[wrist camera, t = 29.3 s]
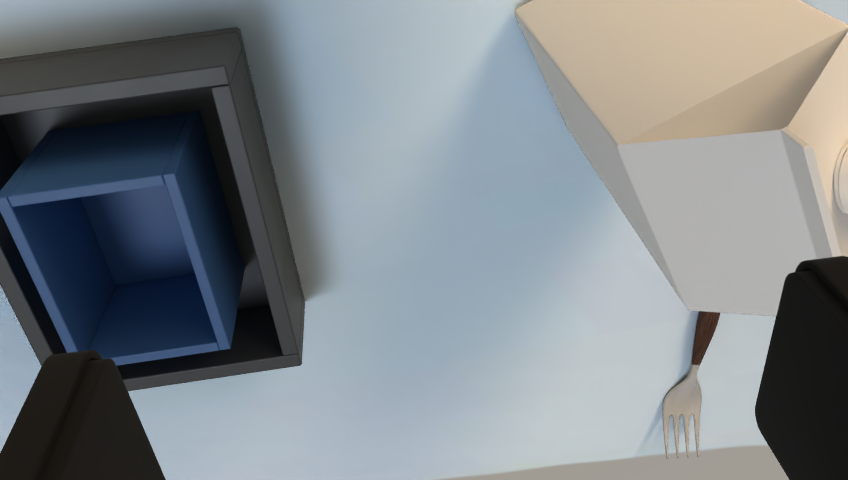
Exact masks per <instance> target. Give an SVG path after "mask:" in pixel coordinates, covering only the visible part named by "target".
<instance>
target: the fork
mask: <svg viewBox="0 0 848 480" xmlns="http://www.w3.org/2000/svg"><path fill="white" fill-rule="evenodd" d="M719 316H720V312H705V311H700V314H699V318H698V322H697V327H696V333H695V340H694V348H693V356H692V364H691V369H690V373H689V375H688V376H687V378H686V379H685V380H683V381H682V382H681V383H679V384H678V385H677V386H675V387H674V388H673V389H671V390H670V391H669V392H668V393H667V395H666V396H665V398H664V401H663V426H664V439H665V450H666V458H667V459H668V423H669V417H670V416H672V417H673V422H674V435H675V446H676V455H677V458H678V434H679V418H680V415H682V416H683V419H684V431H685V442H686V452H687V457H689V419H690V415H691V414H692V415H693V417H694V427H695V439H696V449H697V457H699V418H700V409H701V391H700V388H699V386H698V384H697V382H696V374H697V371H698V368H699V366H700V363H701V361H702V359H703V357H704V354H705V352H706V350H707V348H708V346H709V343H710V341H711V339H712V336H713V334H714V332H715V329H716V326H717V323H718V320H719Z"/></svg>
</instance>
